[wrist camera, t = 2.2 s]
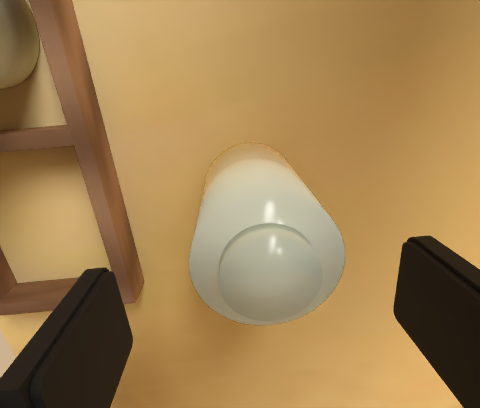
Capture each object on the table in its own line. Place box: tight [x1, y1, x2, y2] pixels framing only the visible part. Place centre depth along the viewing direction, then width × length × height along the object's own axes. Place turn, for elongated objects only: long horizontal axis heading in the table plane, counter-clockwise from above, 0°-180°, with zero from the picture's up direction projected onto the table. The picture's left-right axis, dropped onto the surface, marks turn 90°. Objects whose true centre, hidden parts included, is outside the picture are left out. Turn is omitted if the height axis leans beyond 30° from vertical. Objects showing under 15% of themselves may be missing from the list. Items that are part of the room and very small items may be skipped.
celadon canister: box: [189, 143, 345, 325], centre depth 13 cm, size 5×5×9 cm
